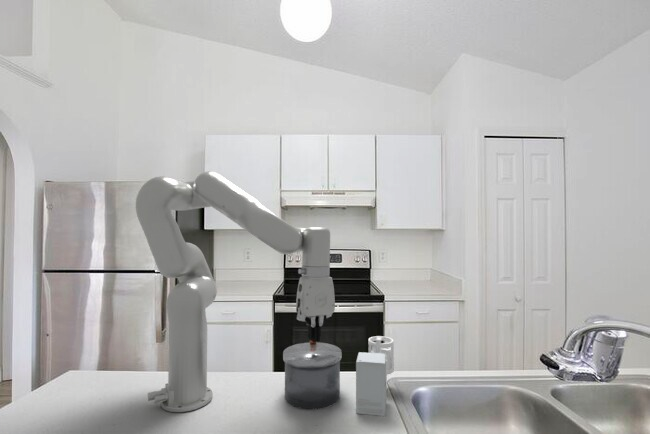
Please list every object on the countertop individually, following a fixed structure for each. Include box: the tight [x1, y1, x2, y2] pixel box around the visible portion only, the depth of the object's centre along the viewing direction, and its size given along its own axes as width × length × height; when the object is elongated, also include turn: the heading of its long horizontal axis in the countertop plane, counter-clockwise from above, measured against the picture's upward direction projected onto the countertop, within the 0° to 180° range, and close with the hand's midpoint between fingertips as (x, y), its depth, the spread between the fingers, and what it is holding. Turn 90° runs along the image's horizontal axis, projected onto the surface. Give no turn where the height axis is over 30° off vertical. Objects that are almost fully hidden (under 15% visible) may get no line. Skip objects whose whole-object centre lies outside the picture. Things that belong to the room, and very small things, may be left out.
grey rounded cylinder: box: [284, 360, 341, 411], centre depth 93 cm, size 15×15×10 cm
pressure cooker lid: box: [282, 340, 343, 368], centre depth 93 cm, size 16×16×4 cm
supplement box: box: [355, 351, 387, 417], centre depth 86 cm, size 7×7×13 cm
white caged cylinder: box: [368, 335, 395, 392], centre depth 96 cm, size 7×7×15 cm
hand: (314, 340), depth 92 cm, fingers closed
